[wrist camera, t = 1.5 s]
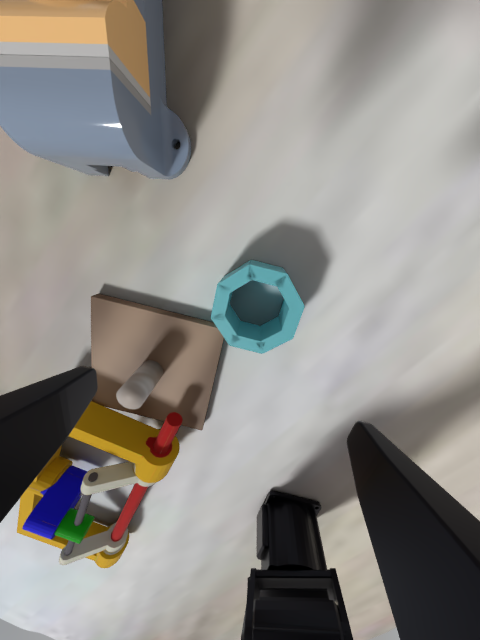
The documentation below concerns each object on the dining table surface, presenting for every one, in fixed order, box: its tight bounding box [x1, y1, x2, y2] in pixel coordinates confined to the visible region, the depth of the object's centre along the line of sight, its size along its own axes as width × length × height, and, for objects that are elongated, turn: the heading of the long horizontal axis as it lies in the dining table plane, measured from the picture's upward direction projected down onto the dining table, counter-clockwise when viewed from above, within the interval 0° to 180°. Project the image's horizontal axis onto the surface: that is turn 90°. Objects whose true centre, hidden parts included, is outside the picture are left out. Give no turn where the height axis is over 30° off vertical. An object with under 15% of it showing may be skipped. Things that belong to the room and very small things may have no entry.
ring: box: [211, 260, 305, 354], centre depth 18 cm, size 6×6×3 cm
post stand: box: [91, 294, 224, 430], centre depth 20 cm, size 12×12×5 cm
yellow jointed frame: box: [17, 401, 182, 568], centre depth 25 cm, size 18×6×30 cm
